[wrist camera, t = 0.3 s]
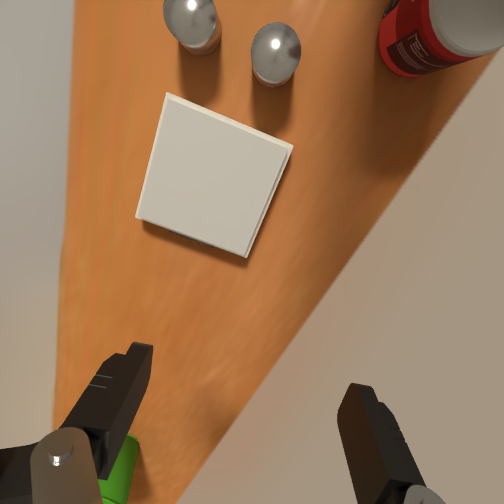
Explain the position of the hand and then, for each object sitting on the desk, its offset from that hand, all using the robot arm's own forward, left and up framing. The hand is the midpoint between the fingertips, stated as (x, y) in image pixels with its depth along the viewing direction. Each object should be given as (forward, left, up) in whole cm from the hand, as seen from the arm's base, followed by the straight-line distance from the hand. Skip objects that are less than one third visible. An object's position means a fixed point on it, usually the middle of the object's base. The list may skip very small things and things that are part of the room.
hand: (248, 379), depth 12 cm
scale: (-2, -6, -27) cm, 28 cm away
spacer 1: (-15, -12, -27) cm, 33 cm away
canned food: (-23, +8, -27) cm, 36 cm away
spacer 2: (-15, -4, -27) cm, 31 cm away
